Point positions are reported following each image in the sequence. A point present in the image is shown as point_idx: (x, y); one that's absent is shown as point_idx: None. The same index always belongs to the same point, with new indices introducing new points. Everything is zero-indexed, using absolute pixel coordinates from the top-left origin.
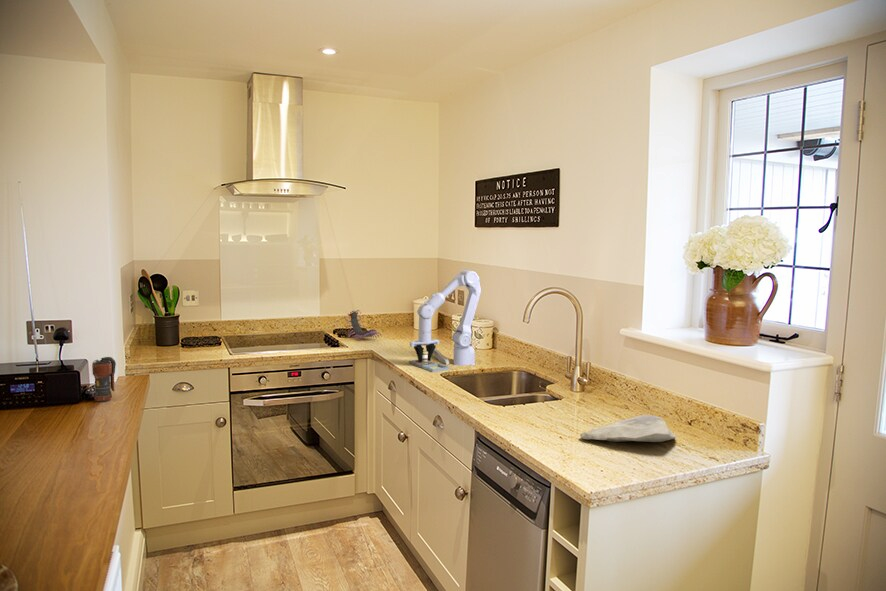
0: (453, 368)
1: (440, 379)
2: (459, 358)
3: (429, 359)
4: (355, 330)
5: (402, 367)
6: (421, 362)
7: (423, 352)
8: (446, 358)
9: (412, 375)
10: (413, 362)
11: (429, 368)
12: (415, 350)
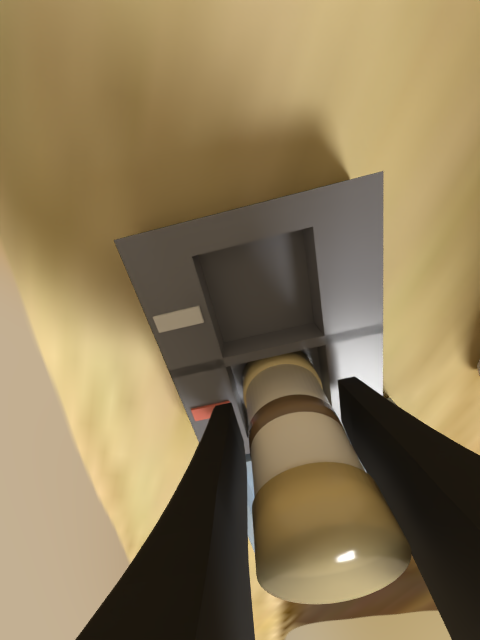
0: (476, 439)
1: (253, 593)
2: None
3: (351, 440)
4: None
5: (54, 322)
6: (247, 407)
7: (282, 590)
8: None
9: (120, 532)
10: (165, 346)
11: (249, 538)
12: (115, 594)
